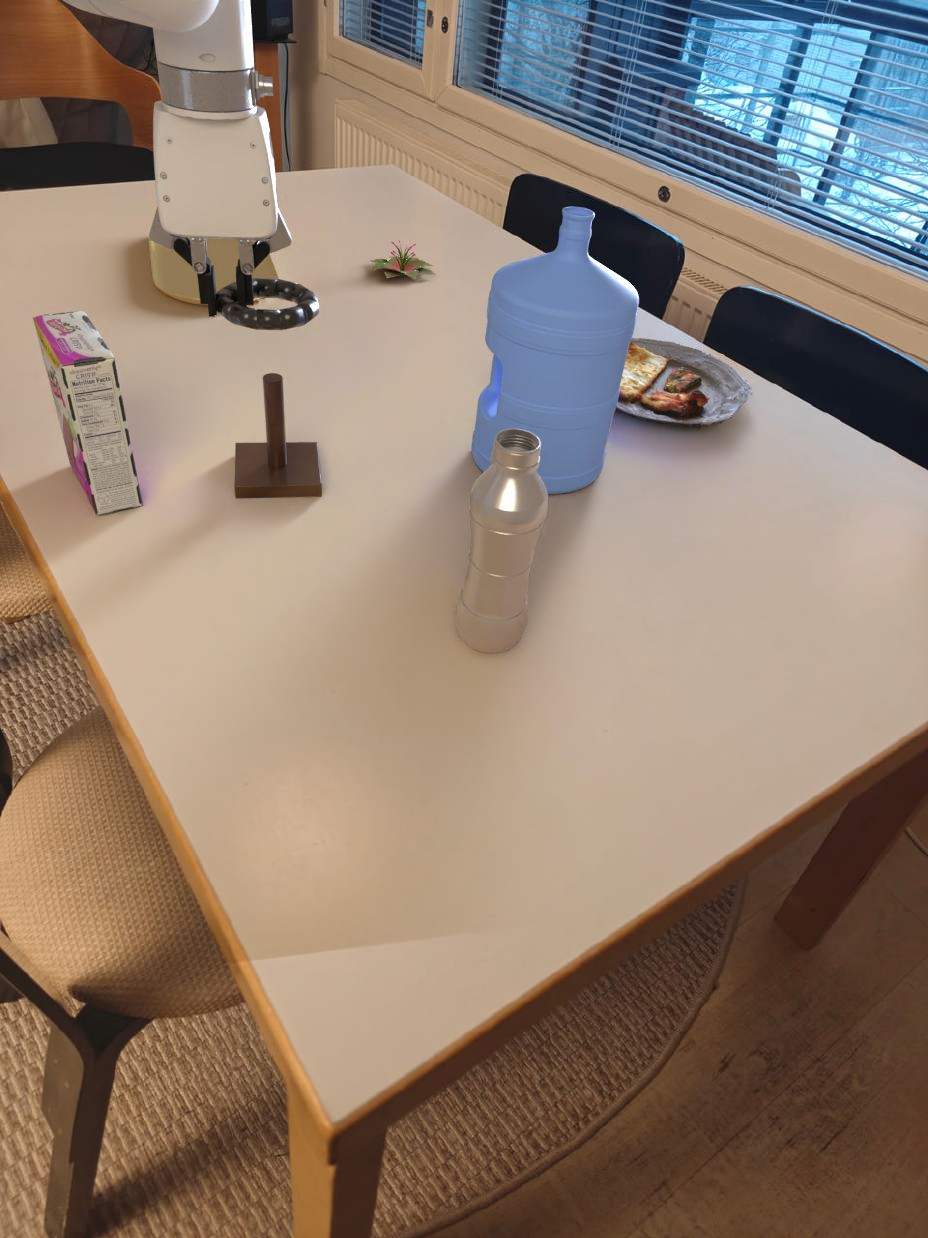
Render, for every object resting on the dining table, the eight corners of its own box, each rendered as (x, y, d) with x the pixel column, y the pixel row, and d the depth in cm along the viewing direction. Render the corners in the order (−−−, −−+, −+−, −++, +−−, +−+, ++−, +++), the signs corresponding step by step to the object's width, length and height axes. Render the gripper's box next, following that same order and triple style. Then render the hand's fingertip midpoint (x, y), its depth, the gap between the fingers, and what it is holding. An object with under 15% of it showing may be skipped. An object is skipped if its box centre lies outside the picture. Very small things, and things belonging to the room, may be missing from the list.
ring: (215, 332, 78) (213, 312, 77) (217, 292, 85) (216, 274, 84) (322, 334, 80) (321, 315, 79) (315, 295, 87) (315, 277, 86)
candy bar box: (66, 464, 92) (30, 314, 81) (114, 455, 94) (85, 307, 84) (94, 519, 85) (58, 363, 75) (145, 507, 88) (117, 354, 77)
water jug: (622, 458, 105) (682, 214, 86) (563, 514, 94) (618, 250, 76) (511, 416, 110) (546, 179, 92) (444, 465, 99) (468, 207, 81)
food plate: (703, 455, 107) (711, 430, 105) (541, 395, 115) (545, 371, 113) (764, 388, 124) (772, 365, 121) (618, 340, 132) (623, 318, 130)
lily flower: (380, 286, 140) (381, 257, 137) (357, 260, 148) (357, 232, 145) (448, 282, 144) (450, 254, 141) (422, 257, 152) (423, 230, 149)
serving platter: (258, 232, 154) (257, 222, 153) (287, 308, 129) (287, 298, 128) (147, 231, 149) (146, 222, 148) (156, 311, 124) (154, 300, 123)
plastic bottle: (444, 653, 75) (466, 453, 62) (462, 606, 81) (486, 412, 68) (515, 670, 75) (552, 471, 62) (529, 621, 80) (566, 428, 67)
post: (235, 498, 90) (225, 397, 83) (236, 454, 97) (227, 357, 90) (321, 496, 92) (320, 398, 85) (317, 453, 99) (315, 358, 91)
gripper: (305, 86, 74) (311, 298, 86) (110, 72, 71) (144, 294, 83) (310, 105, 69) (315, 329, 81) (98, 92, 66) (136, 326, 78)
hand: (228, 309), depth 82 cm, fingers closed on ring, 2 cm apart
